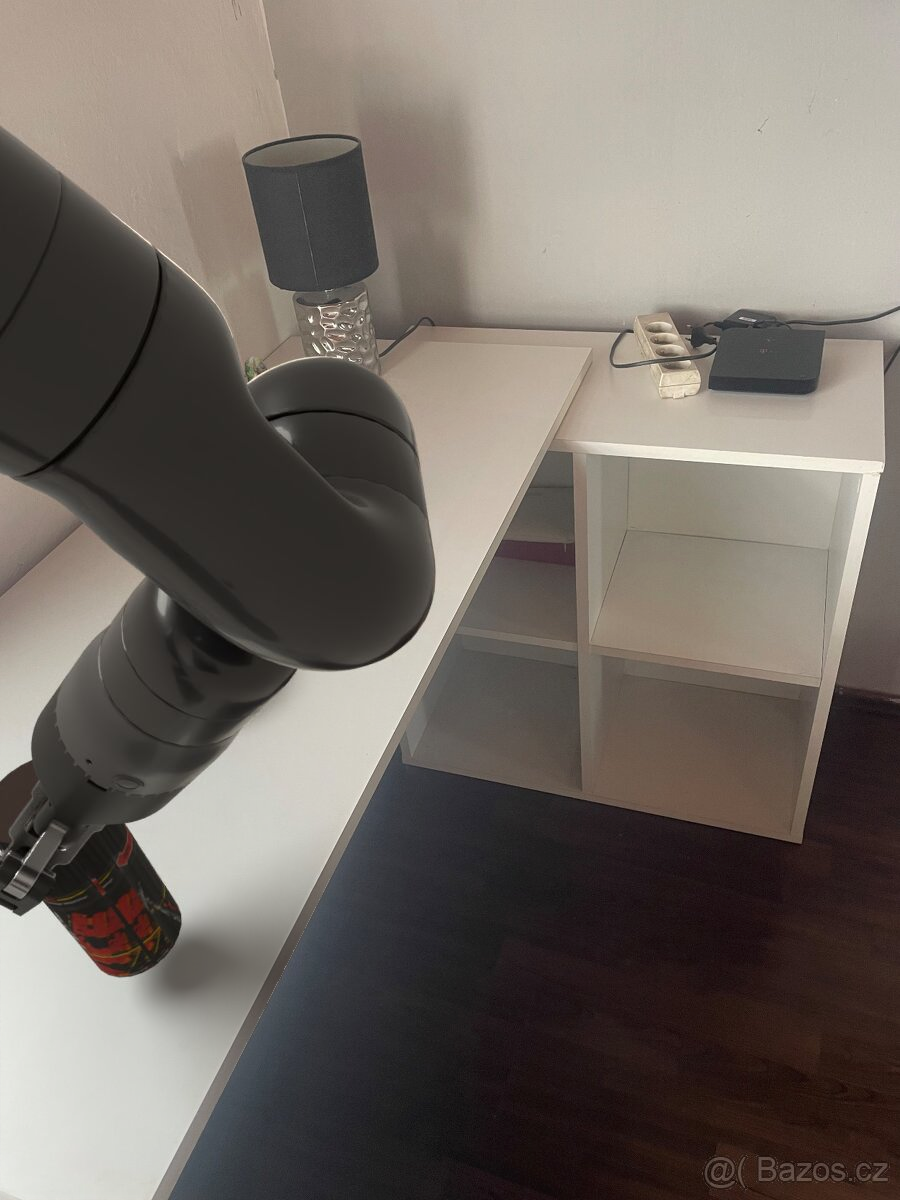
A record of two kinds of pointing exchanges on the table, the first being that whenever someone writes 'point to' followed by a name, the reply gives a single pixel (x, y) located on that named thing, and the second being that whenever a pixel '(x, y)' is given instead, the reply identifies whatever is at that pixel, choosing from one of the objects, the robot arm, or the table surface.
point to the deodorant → (103, 891)
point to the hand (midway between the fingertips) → (40, 832)
